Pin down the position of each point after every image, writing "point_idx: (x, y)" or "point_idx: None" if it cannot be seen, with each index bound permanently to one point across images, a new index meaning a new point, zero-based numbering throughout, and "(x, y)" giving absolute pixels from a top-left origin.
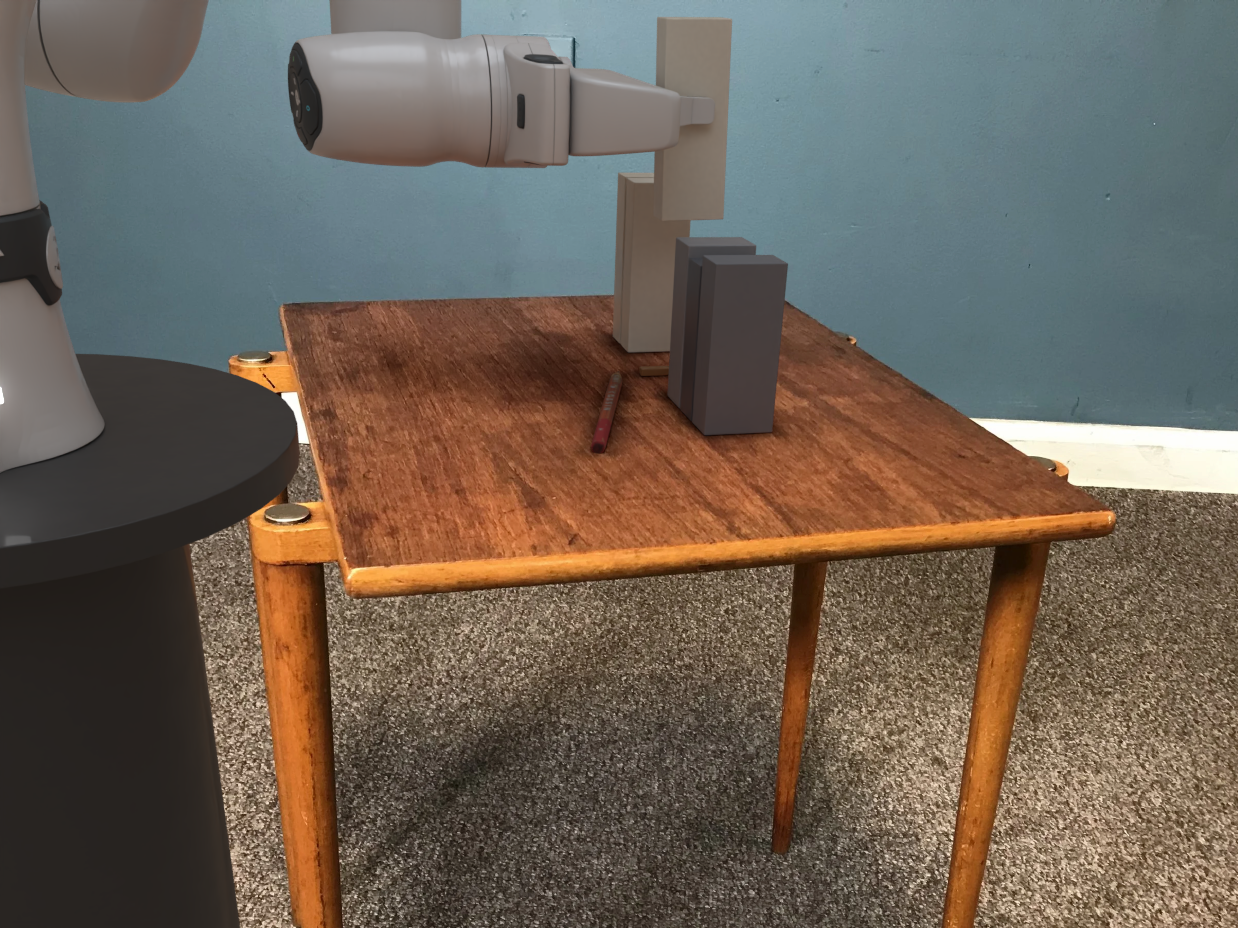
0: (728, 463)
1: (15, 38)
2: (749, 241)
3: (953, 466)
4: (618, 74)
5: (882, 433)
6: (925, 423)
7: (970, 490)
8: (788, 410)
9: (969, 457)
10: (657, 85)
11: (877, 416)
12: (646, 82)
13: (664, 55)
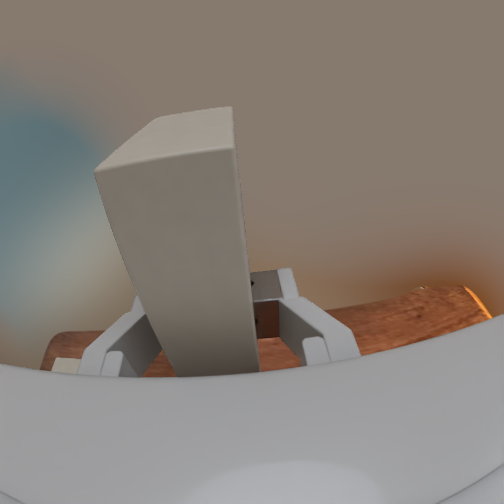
0: None
1: None
2: (364, 355)
3: (434, 321)
4: (41, 397)
5: (392, 345)
6: (367, 322)
7: (462, 320)
8: None
9: (418, 313)
10: (178, 341)
11: (359, 343)
12: (294, 377)
13: (238, 268)
